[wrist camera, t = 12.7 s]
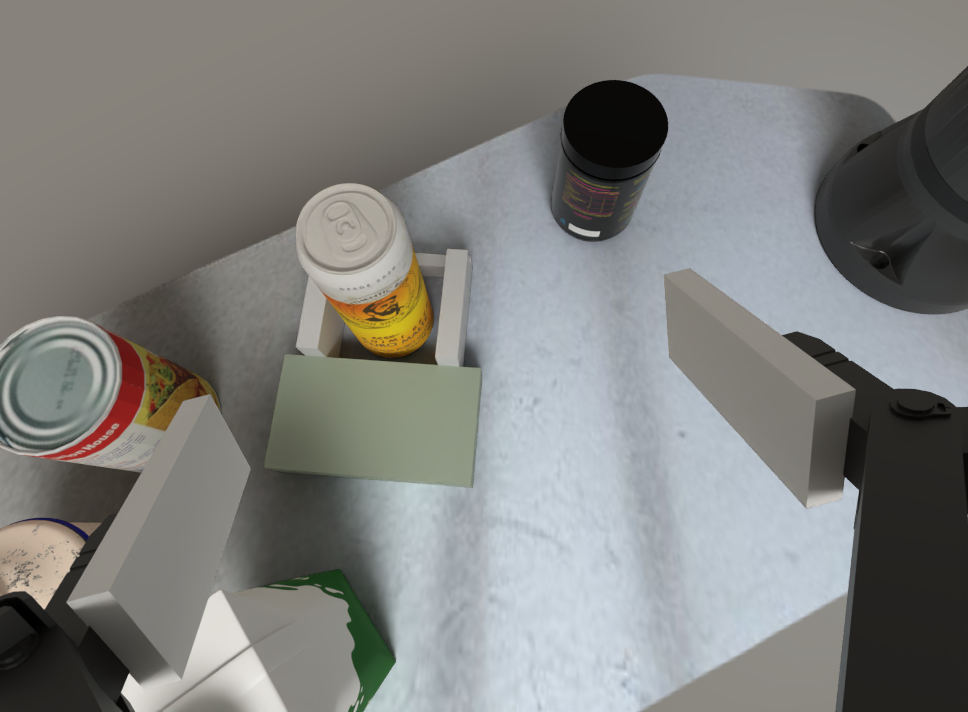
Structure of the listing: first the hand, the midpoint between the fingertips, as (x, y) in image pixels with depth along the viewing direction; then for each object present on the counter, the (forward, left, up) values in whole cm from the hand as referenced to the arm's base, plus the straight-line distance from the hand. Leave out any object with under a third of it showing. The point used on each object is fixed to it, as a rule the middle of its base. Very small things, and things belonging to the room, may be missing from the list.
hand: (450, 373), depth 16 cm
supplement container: (-7, -21, -26) cm, 35 cm away
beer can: (+7, -10, -26) cm, 29 cm away
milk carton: (+9, +13, -26) cm, 31 cm away
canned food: (+23, -1, -26) cm, 35 cm away
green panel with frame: (+7, -7, -26) cm, 28 cm away
